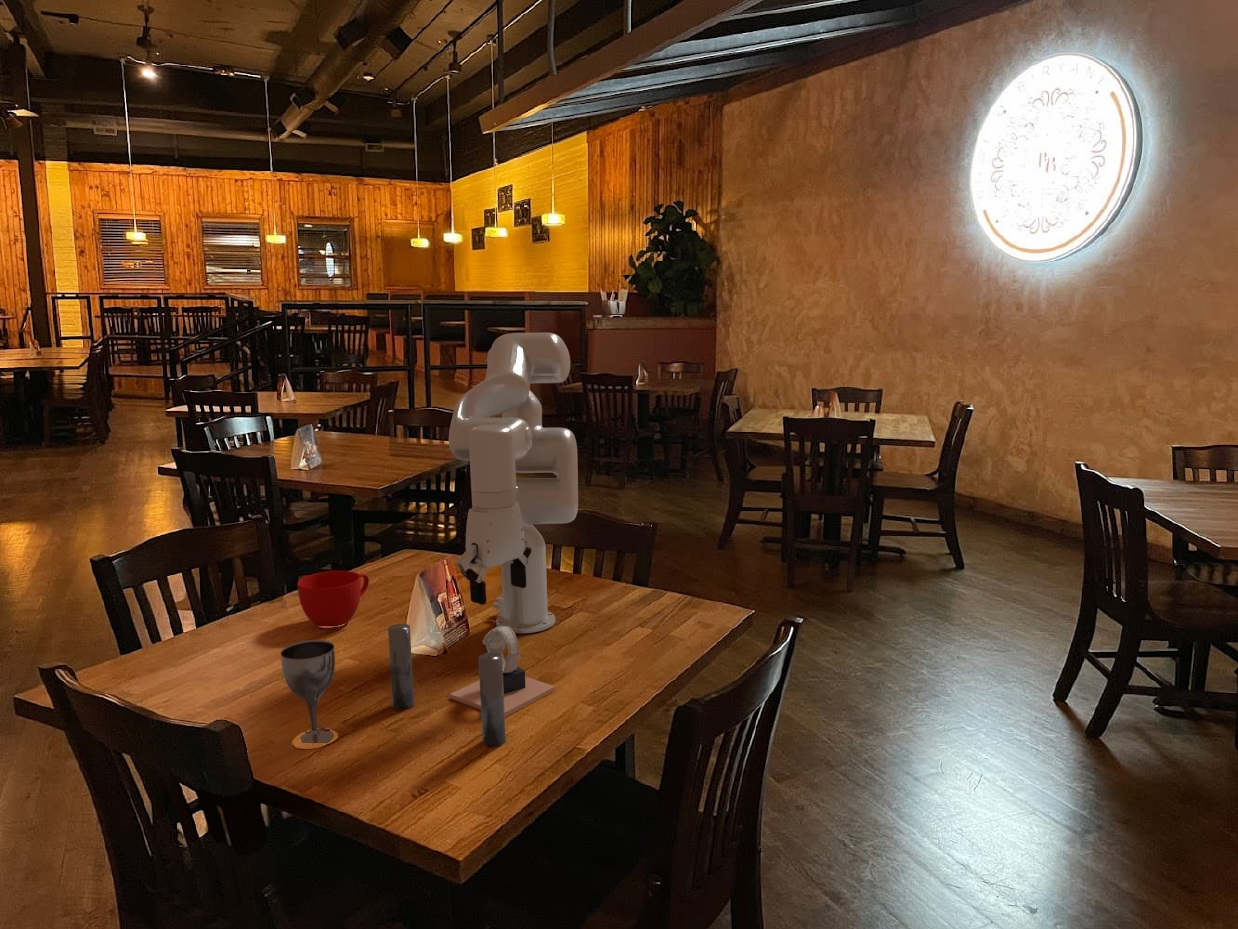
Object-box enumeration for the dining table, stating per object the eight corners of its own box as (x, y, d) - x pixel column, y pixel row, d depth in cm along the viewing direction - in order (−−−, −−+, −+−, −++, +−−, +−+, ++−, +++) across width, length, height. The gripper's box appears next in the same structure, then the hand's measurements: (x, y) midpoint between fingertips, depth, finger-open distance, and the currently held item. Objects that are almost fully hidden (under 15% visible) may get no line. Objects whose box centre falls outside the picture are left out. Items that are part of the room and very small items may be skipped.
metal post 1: (388, 706, 152) (383, 628, 150) (404, 698, 155) (400, 622, 153) (402, 711, 150) (397, 632, 148) (418, 704, 153) (414, 626, 151)
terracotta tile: (449, 698, 155) (449, 694, 155) (502, 673, 165) (502, 669, 165) (503, 718, 147) (503, 713, 147) (555, 690, 157) (555, 686, 157)
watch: (508, 675, 162) (506, 618, 160) (530, 691, 155) (528, 631, 153) (480, 683, 159) (478, 625, 157) (501, 699, 152) (498, 638, 150)
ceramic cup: (389, 614, 198) (386, 571, 196) (328, 638, 184) (324, 592, 182) (350, 604, 205) (346, 563, 203) (288, 627, 191) (284, 583, 189)
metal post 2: (477, 742, 139) (473, 658, 137) (494, 733, 142) (490, 650, 139) (494, 749, 137) (490, 663, 134) (510, 740, 140) (506, 655, 137)
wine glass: (296, 728, 145) (288, 641, 142) (346, 725, 146) (339, 638, 143) (282, 752, 137) (273, 660, 134) (335, 749, 138) (327, 658, 135)
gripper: (514, 485, 159) (518, 576, 162) (440, 506, 145) (446, 604, 149) (545, 491, 154) (548, 584, 158) (472, 512, 141) (477, 614, 144)
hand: (499, 594), depth 153 cm, fingers open, 9 cm apart
